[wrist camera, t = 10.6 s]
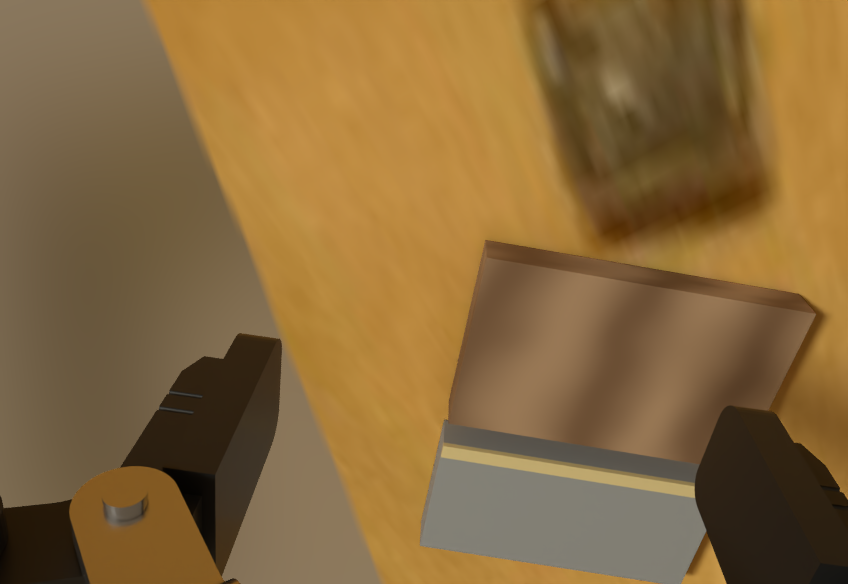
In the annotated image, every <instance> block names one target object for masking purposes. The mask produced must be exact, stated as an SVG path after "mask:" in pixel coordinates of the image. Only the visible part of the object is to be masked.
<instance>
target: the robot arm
mask: <svg viewBox="0 0 848 584" xmlns="http://www.w3.org/2000/svg"><path fill="white" fill-rule="evenodd" d="M281 355H282V344H281V340H280V339H276V338H269V337H262V336H255V335H249V334H242V333H239V334H238V335H237V336H236V338H235V339H234V341H233V343H232V345H231V346H230V348H229V350H228V352H227V354H226V356H225V357H224V359H219V358H212V357H205V356H204V357H202V358H201V359H199V360H198V361H196V362H195V363H194V364H192V365H190V366H189V367H187V368H186V369H184V370H183V371H182V372H181V373H180V375H179V376H178V378H177V380H176V381H175V383H174V384H173V386H172V387H171V389H170V392H169V394H167V395H166V397H165V398H164V400H163V401H162V403H161V404H160V407H159V410H157V411H156V412H155V414H154V416H153V417H152V419H151V420H150V422H149V423H148V425H147V426H146V428H145V430H144V431H143V433H142V434H141V436H140V437H139V439H138V441H137V442H136V444H135V445H134V447H133V448H132V450H131V452H130V453H129V454H128V456H127V458H126V459H125V461H124V462H123V464H122V465H121V467H120V468H117V469H113V470H110V471H107V472H104V473H102V474H100V475H98V476H96V477H94V478H92V479H91V480H89V481H88V482H87V483H85V484H84V485H83V486H82V487H81V488H80V489H79V490H78V491H77V492H76V494H75V496H74V497H73V499H71V500H68V501H63V502H57V503H51V504H41V505H31V506H22V507H12V508H3V503H2V499H1V497H0V584H240V583H239V582H238V581H237V580H236V579H230V580H228V581H224V580H223V578H222V574H223V572H224V569H225V566H226V564H227V561H228V558H229V555H230V553H231V551H232V548H233V545H234V542H235V540H236V537H237V535H238V532H239V529H240V527H241V524H242V522H243V519H244V516H245V514H246V511H247V508H248V506H249V503H250V500H251V498H252V495H253V493H254V490H255V487H256V485H257V482H258V479H259V477H260V474H261V471H262V469H263V466H264V464H265V461H266V458H267V456H268V453H269V450H270V448H271V445H272V442H273V439H274V435H275V431H276V426H277V421H278V413H279V397H280V376H281ZM839 490H840V487H839V486H838V484H837V483H836V481H835V480H834V478H833V477H832V475H831V474H830V472H829V470H828V469H827V467H826V466H825V465H824V464H823V463H822V462H821V461H820V460H819V459H817V458H816V457H815V456H814V455H813V454H812V453H811V452H810V451H808V450H807V449H806V448H805V447H804V446H803V445H802V444H800V443H794V442H793V441H792V439H791V438H790V436H789V434H788V433H787V431H786V429H785V428H784V426H783V425H782V423H781V421H780V420H779V418H778V417H777V415H776V414H775V413H774V412H772V411H766V410H759V409H752V408H745V407H738V406H731V405H729V406H727V407H725V408H724V409H723V411H722V412H721V414H720V416H719V418H718V421H717V423H716V426H715V428H714V431H713V433H712V435H711V438H710V440H709V443H708V445H707V448H706V450H705V453H704V455H703V458H702V460H701V462H700V465H699V467H698V470H697V473H696V478H695V500H696V505H697V508H698V510H699V513H700V515H701V518H702V521H703V523H704V526H705V528H706V531H707V534H708V536H709V539H710V541H711V544H712V546H713V549H714V552H715V554H716V557H717V559H718V562H719V565H720V567H721V570H722V572H723V575H724V578H725V580H726V583H727V584H848V500H847V498H846V497H845V495H844V494H843V493H842V492H840V491H839Z"/></svg>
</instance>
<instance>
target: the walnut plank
mask: <svg viewBox="0 0 848 584" xmlns="http://www.w3.org/2000/svg"><path fill="white" fill-rule="evenodd" d="M815 316H816V313H815V312H814V311H813V310H812V309H811V307H810V306H809V305H808V304H807V303H806V302H805V301H804V299H803V298H802V297H801V296H800V295H799V294H795V293H789V292H784V291H778V290H772V289H766V288H760V287H755V286H749V285H743V284H737V283H731V282H726V281H720V280H714V279H708V278H702V277H697V276H691V275H685V274H679V273H673V272H668V271H662V270H656V269H650V268H644V267H639V266H633V265H627V264H621V263H615V262H610V261H604V260H598V259H592V258H586V257H581V256H575V255H569V254H563V253H557V252H552V251H546V250H540V249H534V248H528V247H523V246H517V245H511V244H505V243H499V242H494V241H488V240H485V245H484V249H483V253H482V258H481V262H480V267H479V271H478V275H477V280H476V284H475V289H474V293H473V297H472V302H471V306H470V311H469V315H468V319H467V324H466V328H465V333H464V337H463V341H462V346H461V350H460V355H459V359H458V363H457V368H456V372H455V376H454V381H453V385H452V390H451V394H450V398H449V418H448V424H454V425H460V426H466V427H473V428H479V429H485V430H491V431H497V432H503V433H510V434H516V435H522V436H528V437H534V438H540V439H547V440H553V441H559V442H565V443H571V444H577V445H583V446H590V447H596V448H602V449H608V450H614V451H620V452H627V453H633V454H639V455H645V456H651V457H657V458H663V459H670V460H676V461H682V462H688V463H694V464H700V462H701V460H702V458H703V455H704V453H705V450H706V448H707V445H708V443H709V440H710V438H711V435H712V433H713V431H714V428H715V426H716V423H717V421H718V418H719V416H720V414H721V412H722V411H723V409H724V408H725V407H727V406H729V405H731V406H738V407H745V408H752V409H759V410H766V411H768V410H769V408H770V406H771V404H772V402H773V400H774V398H775V396H776V394H777V392H778V390H779V388H780V386H781V384H782V382H783V380H784V378H785V376H786V374H787V372H788V370H789V368H790V366H791V364H792V362H793V360H794V358H795V356H796V354H797V352H798V350H799V348H800V346H801V344H802V342H803V340H804V338H805V336H806V334H807V332H808V330H809V328H810V326H811V324H812V322H813V320H814V318H815Z"/></svg>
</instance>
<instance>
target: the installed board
mask: <svg viewBox="0 0 848 584" xmlns="http://www.w3.org/2000/svg"><path fill="white" fill-rule="evenodd" d="M699 465H700V464H694V463H688V462H682V461H676V460H670V459H663V458H657V457H651V456H645V455H639V454H633V453H627V452H620V451H614V450H608V449H602V448H596V447H590V446H583V445H577V444H571V443H565V442H559V441H553V440H547V439H540V438H534V437H528V436H522V435H516V434H510V433H503V432H497V431H491V430H485V429H479V428H473V427H466V426H460V425H454V424H448V420H444V423H443V428H442V432H441V436H440V441H439V445H438V450H437V454H436V459H435V463H434V468H433V472H432V476H431V481H430V485H429V490H428V494H427V499H426V503H425V507H424V512H423V516H422V521H421V536H420V546H425V547H431V548H437V549H444V550H450V551H457V552H463V553H470V554H476V555H482V556H489V557H495V558H502V559H508V560H514V561H521V562H527V563H534V564H540V565H547V566H553V567H559V568H566V569H572V570H579V571H585V572H591V573H598V574H604V575H611V576H617V577H624V578H630V579H636V580H643V581H649V582H656V583H662V584H681V582H682V580H683V578H684V576H685V574H686V572H687V570H688V568H689V566H690V564H691V562H692V560H693V558H694V556H695V553H696V551H697V549H698V547H699V545H700V543H701V541H702V539H703V537H704V535H705V533H706V528H705V526H704V523H703V521H702V518H701V515H700V513H699V510H698V508H697V505H696V500H695V478H696V473H697V470H698V467H699Z"/></svg>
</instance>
